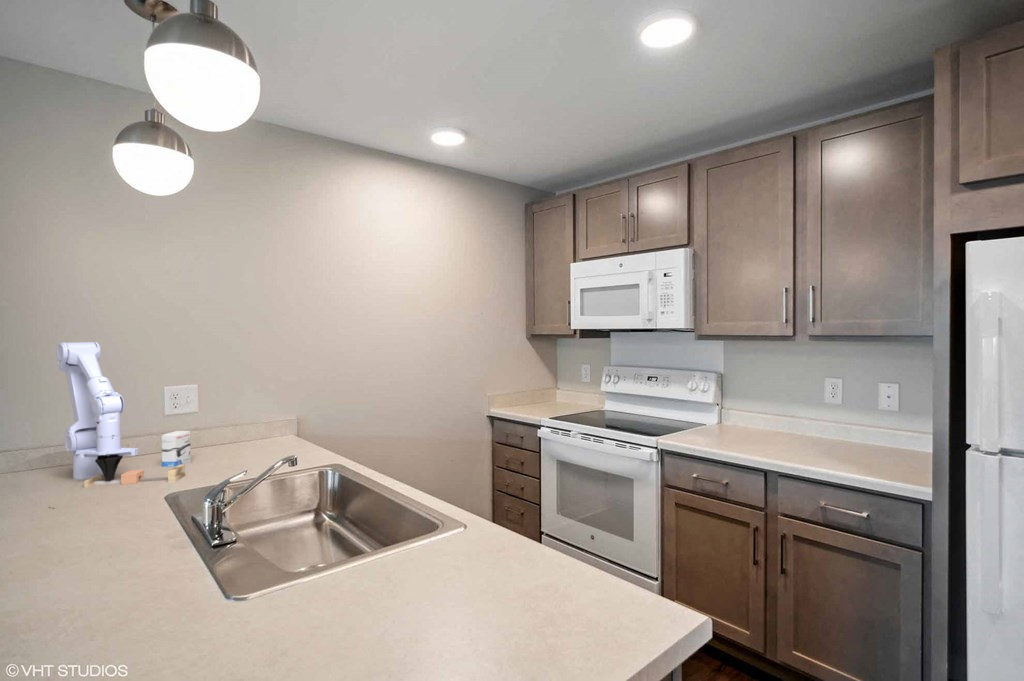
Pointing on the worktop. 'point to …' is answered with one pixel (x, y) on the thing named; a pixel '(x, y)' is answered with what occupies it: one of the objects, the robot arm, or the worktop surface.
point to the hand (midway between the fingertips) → (109, 479)
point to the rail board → (172, 477)
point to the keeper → (132, 476)
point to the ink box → (176, 448)
